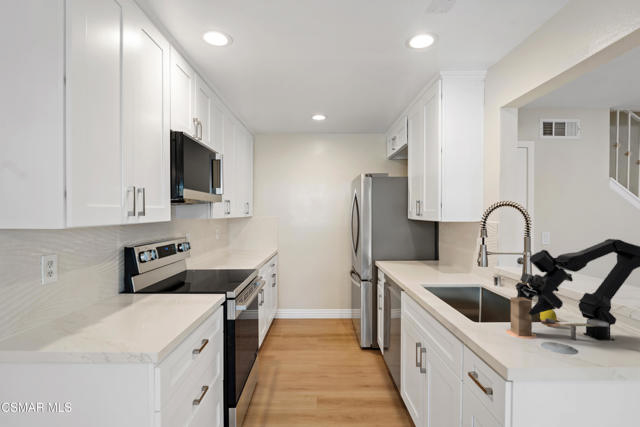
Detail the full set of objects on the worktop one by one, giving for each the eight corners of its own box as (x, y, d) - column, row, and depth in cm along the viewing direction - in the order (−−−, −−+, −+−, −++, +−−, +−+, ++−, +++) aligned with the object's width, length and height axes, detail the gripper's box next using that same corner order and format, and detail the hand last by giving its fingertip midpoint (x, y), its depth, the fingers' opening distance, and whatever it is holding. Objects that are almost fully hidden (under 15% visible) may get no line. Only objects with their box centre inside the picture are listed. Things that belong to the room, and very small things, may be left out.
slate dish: (561, 345, 110) (561, 341, 110) (586, 357, 100) (586, 354, 100) (533, 345, 110) (533, 342, 110) (556, 358, 100) (556, 354, 100)
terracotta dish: (525, 332, 123) (525, 328, 123) (544, 342, 113) (544, 338, 113) (500, 332, 123) (500, 329, 123) (516, 342, 113) (516, 338, 113)
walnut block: (523, 331, 121) (523, 297, 121) (531, 336, 116) (531, 300, 116) (510, 331, 121) (510, 297, 121) (518, 336, 116) (518, 300, 116)
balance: (607, 346, 109) (607, 321, 110) (610, 352, 105) (610, 326, 105) (541, 334, 121) (541, 311, 121) (540, 339, 116) (540, 315, 116)
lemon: (559, 329, 126) (559, 309, 127) (544, 328, 128) (543, 308, 128) (552, 324, 132) (552, 305, 132) (537, 323, 133) (537, 304, 133)
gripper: (519, 262, 128) (492, 289, 128) (553, 270, 109) (522, 302, 109) (539, 281, 128) (512, 309, 128) (576, 292, 109) (545, 324, 109)
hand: (521, 310), depth 118 cm, fingers open, 9 cm apart
